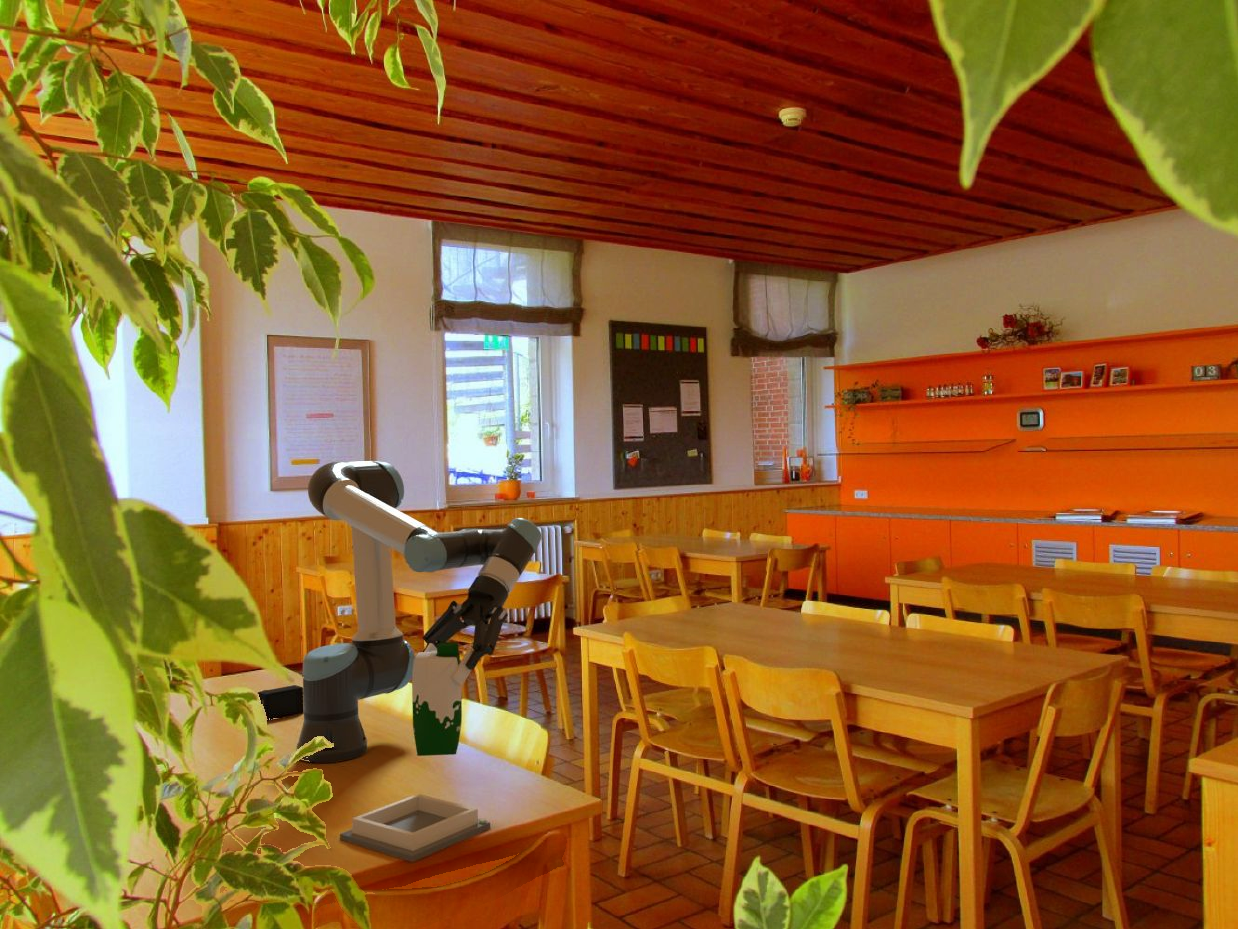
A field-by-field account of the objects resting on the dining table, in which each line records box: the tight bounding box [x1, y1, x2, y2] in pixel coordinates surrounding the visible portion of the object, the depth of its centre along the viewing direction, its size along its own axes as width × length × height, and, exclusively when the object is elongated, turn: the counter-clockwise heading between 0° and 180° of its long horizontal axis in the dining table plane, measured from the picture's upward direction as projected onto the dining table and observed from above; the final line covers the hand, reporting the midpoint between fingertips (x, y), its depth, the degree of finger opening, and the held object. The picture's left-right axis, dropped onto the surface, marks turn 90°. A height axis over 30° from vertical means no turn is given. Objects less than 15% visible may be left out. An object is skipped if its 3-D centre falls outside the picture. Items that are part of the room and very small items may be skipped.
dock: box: [339, 793, 491, 863], centre depth 176 cm, size 18×18×4 cm
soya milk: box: [411, 641, 463, 757], centre depth 193 cm, size 9×9×20 cm
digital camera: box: [257, 684, 304, 722], centre depth 263 cm, size 10×5×7 cm, turn 136°
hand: (436, 678), depth 192 cm, fingers closed on soya milk, 10 cm apart
